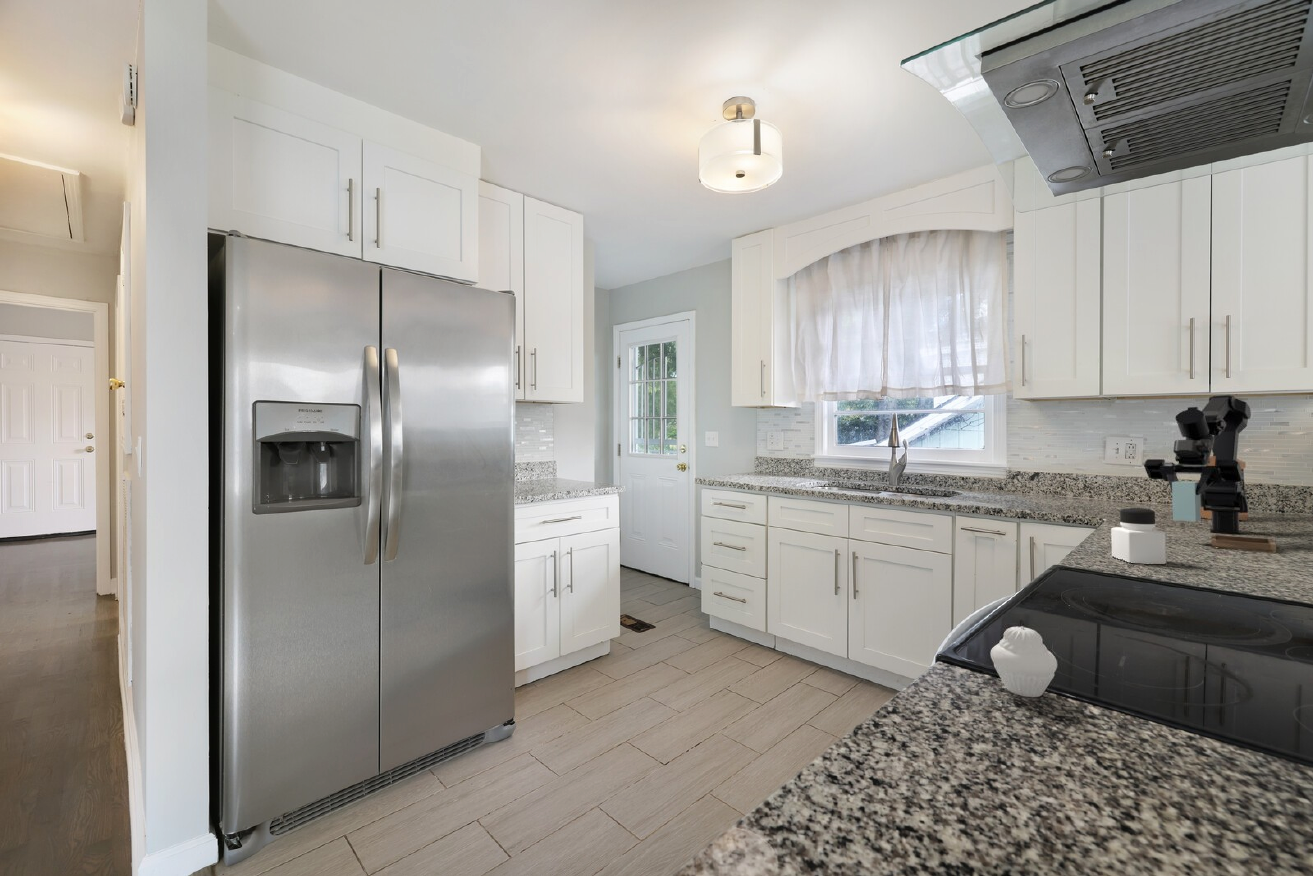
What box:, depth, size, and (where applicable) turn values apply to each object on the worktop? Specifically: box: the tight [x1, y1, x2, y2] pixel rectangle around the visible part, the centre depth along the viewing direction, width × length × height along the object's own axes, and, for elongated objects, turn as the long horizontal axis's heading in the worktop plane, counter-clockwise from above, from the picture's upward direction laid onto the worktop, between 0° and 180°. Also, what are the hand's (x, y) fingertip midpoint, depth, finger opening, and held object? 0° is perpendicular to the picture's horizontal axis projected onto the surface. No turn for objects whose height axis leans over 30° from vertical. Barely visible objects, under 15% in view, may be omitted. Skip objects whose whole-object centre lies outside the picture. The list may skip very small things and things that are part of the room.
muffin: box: [990, 625, 1058, 698], centre depth 62 cm, size 6×6×7 cm
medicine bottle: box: [1110, 507, 1167, 564], centre depth 130 cm, size 7×7×12 cm
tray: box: [1210, 534, 1277, 554], centre depth 146 cm, size 11×11×2 cm
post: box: [1171, 480, 1202, 523], centre depth 152 cm, size 4×4×10 cm
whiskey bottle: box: [1200, 435, 1249, 521], centre depth 199 cm, size 10×10×32 cm
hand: (1184, 493), depth 151 cm, fingers closed on post, 4 cm apart
